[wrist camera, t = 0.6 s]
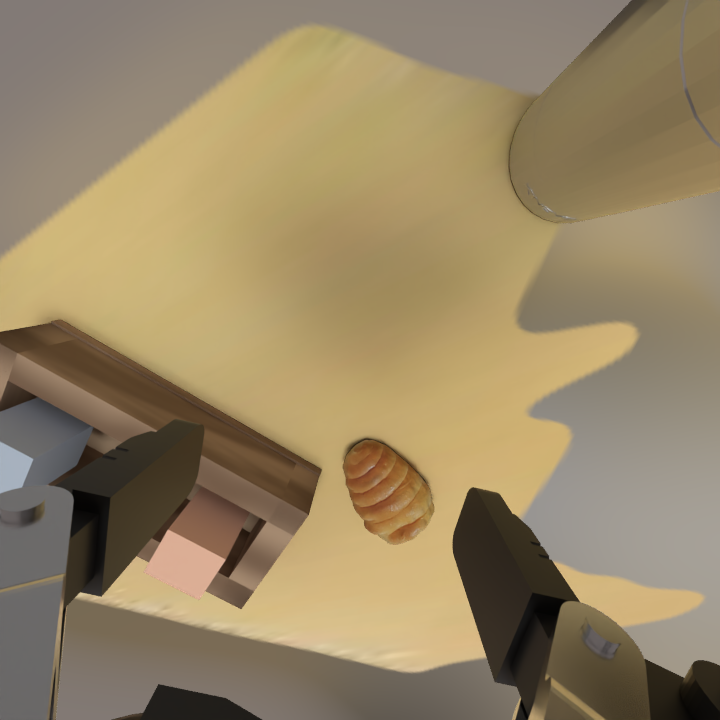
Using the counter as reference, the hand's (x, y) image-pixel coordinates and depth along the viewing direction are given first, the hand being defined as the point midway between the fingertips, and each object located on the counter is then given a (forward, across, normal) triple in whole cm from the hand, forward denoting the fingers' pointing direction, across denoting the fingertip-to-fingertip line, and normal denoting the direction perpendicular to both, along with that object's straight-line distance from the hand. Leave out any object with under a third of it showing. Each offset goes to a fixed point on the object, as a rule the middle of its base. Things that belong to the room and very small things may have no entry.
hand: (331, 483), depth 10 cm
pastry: (+20, -6, +12) cm, 24 cm away
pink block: (+16, +8, +15) cm, 24 cm away
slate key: (+16, +21, +11) cm, 29 cm away
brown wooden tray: (+20, +15, +13) cm, 28 cm away
